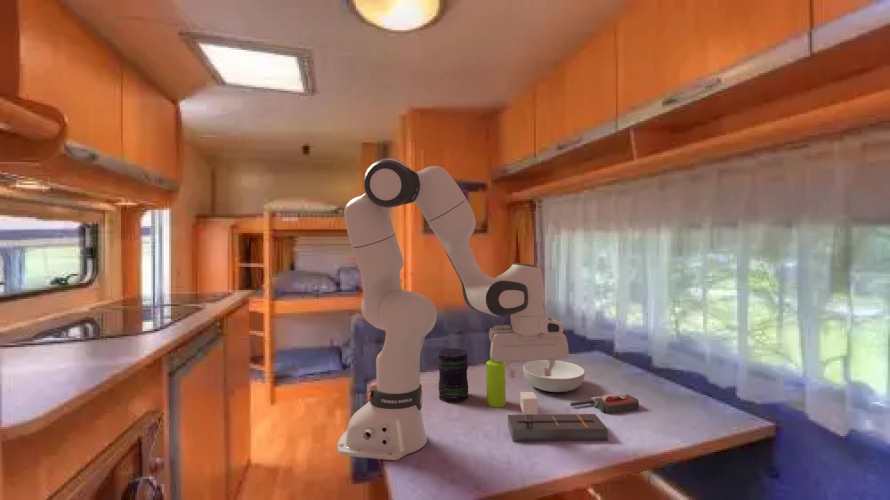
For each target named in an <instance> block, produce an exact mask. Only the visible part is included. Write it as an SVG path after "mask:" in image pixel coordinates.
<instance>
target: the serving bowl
mask: <svg viewBox="0 0 890 500" xmlns="http://www.w3.org/2000/svg"><path fill="white" fill-rule="evenodd" d="M548 365H549V362H548V360H531V361H529V362H527V363H525V364H524V365H523V366H522V371H523V375H524V378H525V380H526V381H527V382H528V383H529V384H530V385H531V386H532V387H535V388H537V389H539V390H541V391H545V392H550V393H565V392H571V391H573V390H575V389H577V388H578V387H580V386H581V385H582V383H583V381H584V379H585V373H586V371H585V369H584V368H583V367H582V366H580V365H578V364H575V363H572V362H569V361H562V360H557V359H556V360H555V364H554V366H553V368H552V370H551V376H545V375H544V368H547V367H548Z"/></svg>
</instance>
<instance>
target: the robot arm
mask: <svg viewBox="0 0 890 500" xmlns="http://www.w3.org/2000/svg"><path fill="white" fill-rule="evenodd" d="M363 177H364V178H363V188H364V193H363V194H362V195H358V196H357V197H354V198H352V199H351V200H350V201H349V202H347V204H346V205H345V207H344V211H343V212H344V213H343V214H344V221H345V227H346V231H347V236H348V240H349V242H350V246H351V249H352V253H353V255H354V258H355V261H356V264H357V267H358V270H359V272H360V276H361V281H362V282H361V283H362V292H363V293H362V294H363V299H362V301H361V305H360V308H361V309H360V310H361V315H362V316H363V318H364V320H366V322H368V324H370V326H373V327H374V328H376V329H379V330H382V331H385V339H384V343H383V346H382V350H381V351H379V353H378V354H377V356H376V359H375V360H376V361H375V363H376V364H375V365H376V366H375V367H376V369H375V370H376V371H375V372H376V382H373V383H372V384H371V385H370V387H369V390H368V402H367V403H365V404H364V405H362V407H360V408H359V409H357V411H355V412H354V414H353V415H351V418H350V420H349V422H348V425H347V429H346V430H345V431H344V432H343V434H341V436H340V438H339V439H338V442H337V447H336V448H337V453H338V454H339V455H340V456H347V457H357V458H366V459H367V458H369V459H375V460H376V459H378V460H388V461H398V460H401V458H403V457H404V456H406V455H408V454H411V453H414V452H416V451H419V450H420V449H421V448H423V447H424V446H426V444H427V442H428V436H427V432H426V430H425V425H424V420H423V412H422V407H423V389H422V384H421V383H420V382H421V377H420V375H421V373H420V372H421V363H420V362H421V352H422V347H423V345H424V342H425V338H426V336H427V335H428V334H429V333H430V332H431V331H432V330H433V328H434V327H435V324H436V323H437V317H438V316H437V315H438V312H437V307H436V305H435V303H434V302H433V301H432V299H430V298H428V297H427V296H425V295H423V294H421V293H419V292H416V291H408V290H404V288H403V286H402V284H401V271H402V269H403V266H404V262H405V261H404V258H403V254H402V252H401V248H400V245H399V243H398V238H397V236H396V232H395V230H394V226H393V224H392V220H391V210H392V208H395V207H399V206H405V205H407V204H414V205H415V206H416V207H417V208H418V209H419V211H420V212H421V213H422V215H423V217H424V219H425V220H426V223H427V225H429V228H430V229H431V230H432V232H433V233H434V235H435V236H436V238H437V239H438V241H439V243H440V244H441V246H442V247H443V250H444V251H445V254H446V256H447V258H448V260H449V262H450V264H451V265H452V268H453V269H454V272H455V273H456V274H457V277H458V279H459V281H460V283H461V288H462V295H463V300H464V301H465V304H466V306H468V308H470V309H471V310H473V311H475V312H479V313H485V314H488V315H491V316H495V317H507V316H510V324H504V325H497V324H496V325H494V326H493V327H491V328H490V329H489V331H488V339H489V341H490V351H491V358H492V359H493V360H494V361H504V364H505V368H506V369H507V370H508V377H509V378H516V375H515V374H516V370H515V369H514V368H511V366H510V365H511V362H518V361H519V362H520V361H523V362H524V361H525V362H526V361H538V360H548V362H549V365H548V367H547V368H544V375H545V376H551V370H552V368H553V366H554V364H555V360H556V361H557V360H566V359H567V358H568V357H569V354H570V353H569V344H568V340H567V336H566V335H565V334H564V333H563V332H564V325H563V324H562V322H560V321H559V320H557V319H554V318H550V317H546V315H545V314H546V313H545V312H546V311H545V310H544V309H545V308H544V300H545V299H544V298H545V288H544V287H545V285H544V278H543V274H542V270H541V268H539V267H538V266H536V265H535V264H528V263H520V262H519V263H517V262H516V263H513V264H512V265H511V266H510V267H509V268H508V269H507V270H506V271H504V272H503V273H501V274H499V275H497V276H495V277H493V276H492V277H491V276H490V275H488V274H486V273H484V271H482V270H481V267H480V266H479V264H478V262H477V259H476V258H475V255H474V254H473V252H472V249H471V247H470V239H471V237H472V235H473V234H474V232H475V229H476V223H477V220H476V217H475V216H476V215H475V213H474V210H473V209H472V207H471V204H470V203H469V201H468V199H467V198H466V195H465V194H464V193H463V191H462V189H461V187H460V186H459V185H458V184H457V182H456V181H455V179H454V178H453V176H451V175H450V173H449V172H448V171H447V170H446V169H445V168H444V167H442V166H439V165H433V166H432V165H431V166H427V167H425V168H423V169H421V170H418V171H414V170H413V169H411V168H410V167H409V166H408V165H407V164H406V163H405V162H403V161H401V160H399V159H397V158H395V157H394V158H393V157H386V158H382V159H380V160H377V161H375V162H374V163H372V164H371V165H370V166H369V167H368V168H367V169H366V172H365V173H364V176H363Z"/></svg>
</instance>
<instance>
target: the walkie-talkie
mask: <svg viewBox="0 0 890 500" xmlns="http://www.w3.org/2000/svg"><path fill="white" fill-rule="evenodd" d="M639 402H640V401H639V399H638V398H636V397H634V396H632V395H629V393H627V394H623V393H620V394H616V393H608V394H607V393H606V394H602V395H601V396H592V397H590V399H588V400H581V401H575V402H570V404H569V405H570V406H571V407H576V406H583V405H593V407H594V408H596V409H598V410H600V412H603V413H605V414H607V415H613V414H621V413H628V412H633V411H634V412H635V411H639V409H640V408H639V407H640V404H639Z"/></svg>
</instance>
